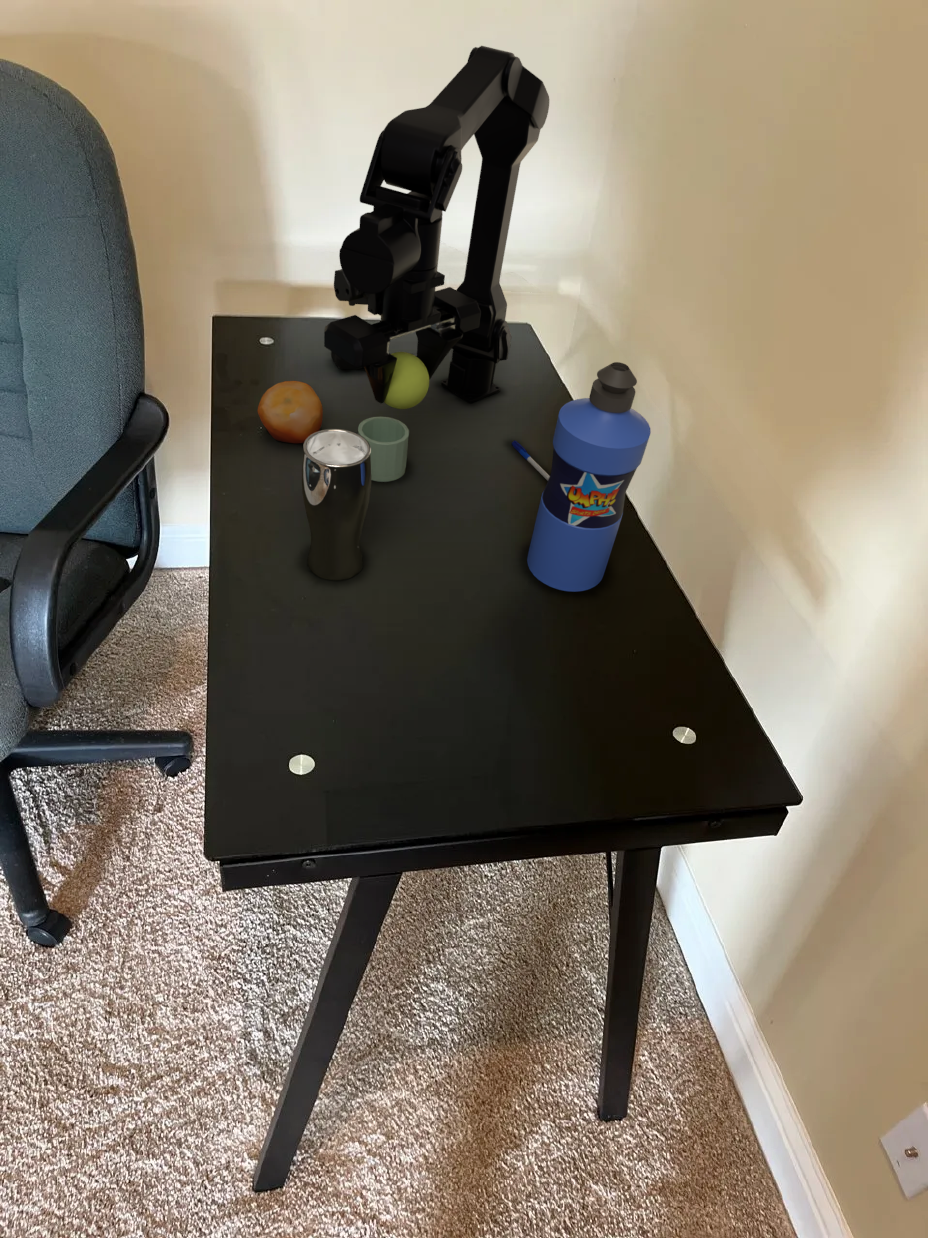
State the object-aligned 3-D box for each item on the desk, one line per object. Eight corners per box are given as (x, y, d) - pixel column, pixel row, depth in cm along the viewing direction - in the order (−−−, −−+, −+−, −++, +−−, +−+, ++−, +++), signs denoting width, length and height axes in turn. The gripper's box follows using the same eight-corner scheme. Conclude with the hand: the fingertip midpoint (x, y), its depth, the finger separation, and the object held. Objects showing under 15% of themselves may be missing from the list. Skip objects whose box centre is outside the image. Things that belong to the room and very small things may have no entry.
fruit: (333, 408, 111) (326, 376, 103) (321, 461, 109) (312, 433, 101) (274, 398, 111) (262, 365, 103) (260, 451, 109) (247, 421, 101)
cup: (384, 448, 108) (386, 411, 104) (415, 471, 105) (419, 433, 102) (346, 463, 105) (347, 426, 101) (378, 487, 102) (380, 449, 98)
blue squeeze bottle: (525, 534, 99) (569, 337, 81) (602, 544, 99) (662, 350, 82) (525, 586, 92) (573, 384, 75) (607, 597, 93) (674, 398, 75)
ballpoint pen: (509, 445, 113) (510, 439, 112) (514, 444, 113) (515, 438, 112) (553, 488, 107) (555, 482, 106) (558, 486, 107) (560, 480, 106)
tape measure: (336, 376, 120) (336, 352, 117) (326, 353, 124) (326, 329, 122) (382, 373, 122) (383, 350, 119) (370, 351, 126) (371, 328, 124)
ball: (401, 385, 101) (405, 336, 97) (437, 409, 98) (443, 359, 94) (361, 400, 98) (363, 350, 93) (397, 425, 95) (401, 374, 90)
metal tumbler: (315, 589, 88) (315, 472, 77) (294, 549, 92) (291, 433, 81) (376, 575, 90) (384, 460, 80) (353, 537, 95) (357, 422, 84)
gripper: (423, 219, 95) (412, 346, 106) (290, 248, 85) (293, 386, 95) (492, 254, 90) (474, 383, 101) (361, 290, 80) (356, 430, 91)
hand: (400, 393), depth 97 cm, fingers closed on ball, 6 cm apart
